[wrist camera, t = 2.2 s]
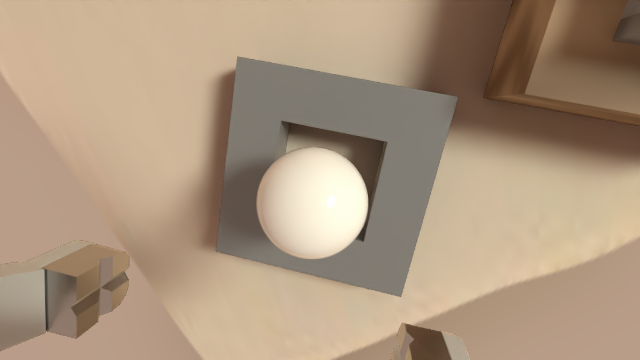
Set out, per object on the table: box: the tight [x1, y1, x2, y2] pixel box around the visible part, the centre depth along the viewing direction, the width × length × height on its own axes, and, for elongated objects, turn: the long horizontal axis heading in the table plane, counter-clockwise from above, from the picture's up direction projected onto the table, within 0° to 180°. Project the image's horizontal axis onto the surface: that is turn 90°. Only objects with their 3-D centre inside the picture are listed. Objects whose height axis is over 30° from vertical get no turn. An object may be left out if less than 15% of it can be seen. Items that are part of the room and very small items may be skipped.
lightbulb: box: [256, 147, 368, 259], centre depth 20 cm, size 6×6×11 cm
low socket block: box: [216, 57, 458, 297], centre depth 24 cm, size 15×15×3 cm
